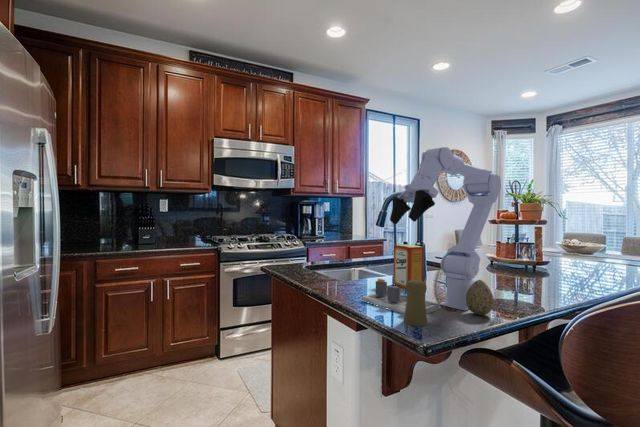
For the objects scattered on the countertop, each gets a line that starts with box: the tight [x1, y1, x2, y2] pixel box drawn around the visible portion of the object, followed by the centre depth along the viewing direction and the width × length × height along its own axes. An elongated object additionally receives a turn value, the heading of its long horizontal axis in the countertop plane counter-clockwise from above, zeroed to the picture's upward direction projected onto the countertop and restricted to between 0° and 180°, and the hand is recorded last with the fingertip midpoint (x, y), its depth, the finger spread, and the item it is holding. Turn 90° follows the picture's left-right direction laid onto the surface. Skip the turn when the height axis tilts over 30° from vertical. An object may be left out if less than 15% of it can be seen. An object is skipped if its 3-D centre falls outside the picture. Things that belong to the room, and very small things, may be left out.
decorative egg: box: [466, 279, 495, 316], centre depth 95 cm, size 7×7×10 cm
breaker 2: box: [387, 285, 401, 302], centre depth 102 cm, size 2×3×4 cm, turn 42°
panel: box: [361, 293, 440, 315], centre depth 104 cm, size 12×20×2 cm, turn 42°
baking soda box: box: [392, 243, 425, 290], centre depth 129 cm, size 10×6×16 cm
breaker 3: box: [374, 278, 388, 296], centre depth 109 cm, size 2×3×5 cm, turn 42°
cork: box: [403, 280, 428, 327], centre depth 88 cm, size 6×6×11 cm
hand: (401, 220), depth 88 cm, fingers open, 7 cm apart
